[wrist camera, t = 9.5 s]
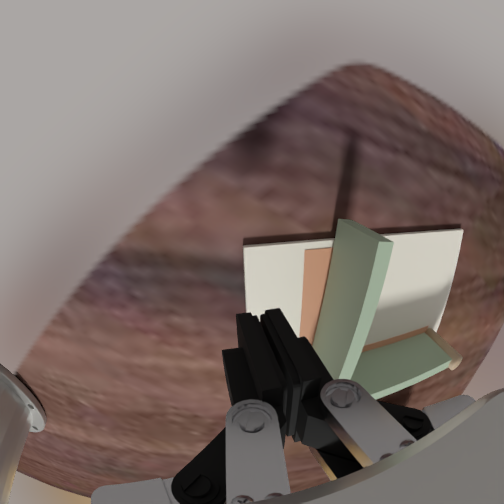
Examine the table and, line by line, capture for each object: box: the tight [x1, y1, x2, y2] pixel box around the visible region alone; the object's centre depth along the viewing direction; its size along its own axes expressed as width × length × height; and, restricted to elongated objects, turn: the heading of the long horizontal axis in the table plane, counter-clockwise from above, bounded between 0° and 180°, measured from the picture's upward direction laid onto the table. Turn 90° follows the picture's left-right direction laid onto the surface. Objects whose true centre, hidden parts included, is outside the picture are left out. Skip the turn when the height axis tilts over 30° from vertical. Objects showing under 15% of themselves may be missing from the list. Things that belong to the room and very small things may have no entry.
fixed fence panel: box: [350, 328, 462, 400], centre depth 20 cm, size 13×2×5 cm, turn 92°
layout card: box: [243, 229, 463, 352], centre depth 21 cm, size 20×18×1 cm
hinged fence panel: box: [312, 219, 394, 380], centre depth 17 cm, size 13×2×4 cm, turn 175°
